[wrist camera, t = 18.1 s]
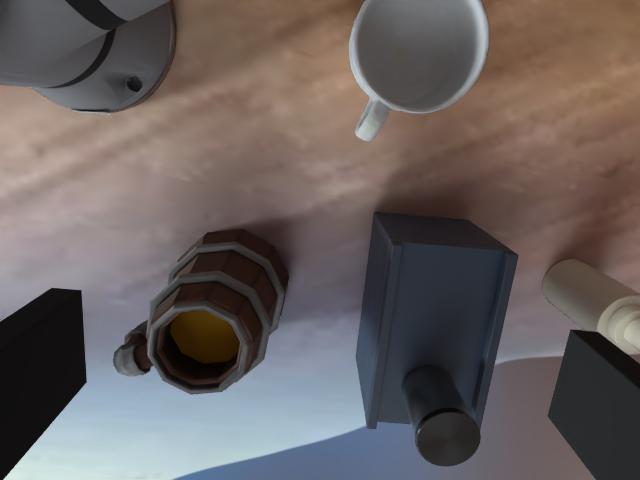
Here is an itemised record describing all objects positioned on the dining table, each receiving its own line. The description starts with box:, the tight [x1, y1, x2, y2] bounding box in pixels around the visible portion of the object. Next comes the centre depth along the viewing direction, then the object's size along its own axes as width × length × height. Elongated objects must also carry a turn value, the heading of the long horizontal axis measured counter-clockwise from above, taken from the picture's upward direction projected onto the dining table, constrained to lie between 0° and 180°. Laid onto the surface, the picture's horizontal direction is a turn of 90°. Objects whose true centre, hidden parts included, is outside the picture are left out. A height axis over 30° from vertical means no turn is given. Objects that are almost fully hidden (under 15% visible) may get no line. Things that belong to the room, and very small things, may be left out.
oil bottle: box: [542, 259, 640, 353], centre depth 41 cm, size 6×6×15 cm
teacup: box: [349, 0, 490, 141], centre depth 39 cm, size 14×11×8 cm
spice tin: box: [401, 365, 480, 466], centre depth 36 cm, size 5×5×7 cm
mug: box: [113, 229, 289, 394], centre depth 42 cm, size 16×12×15 cm
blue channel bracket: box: [356, 212, 518, 430], centre depth 43 cm, size 17×10×12 cm, turn 175°
